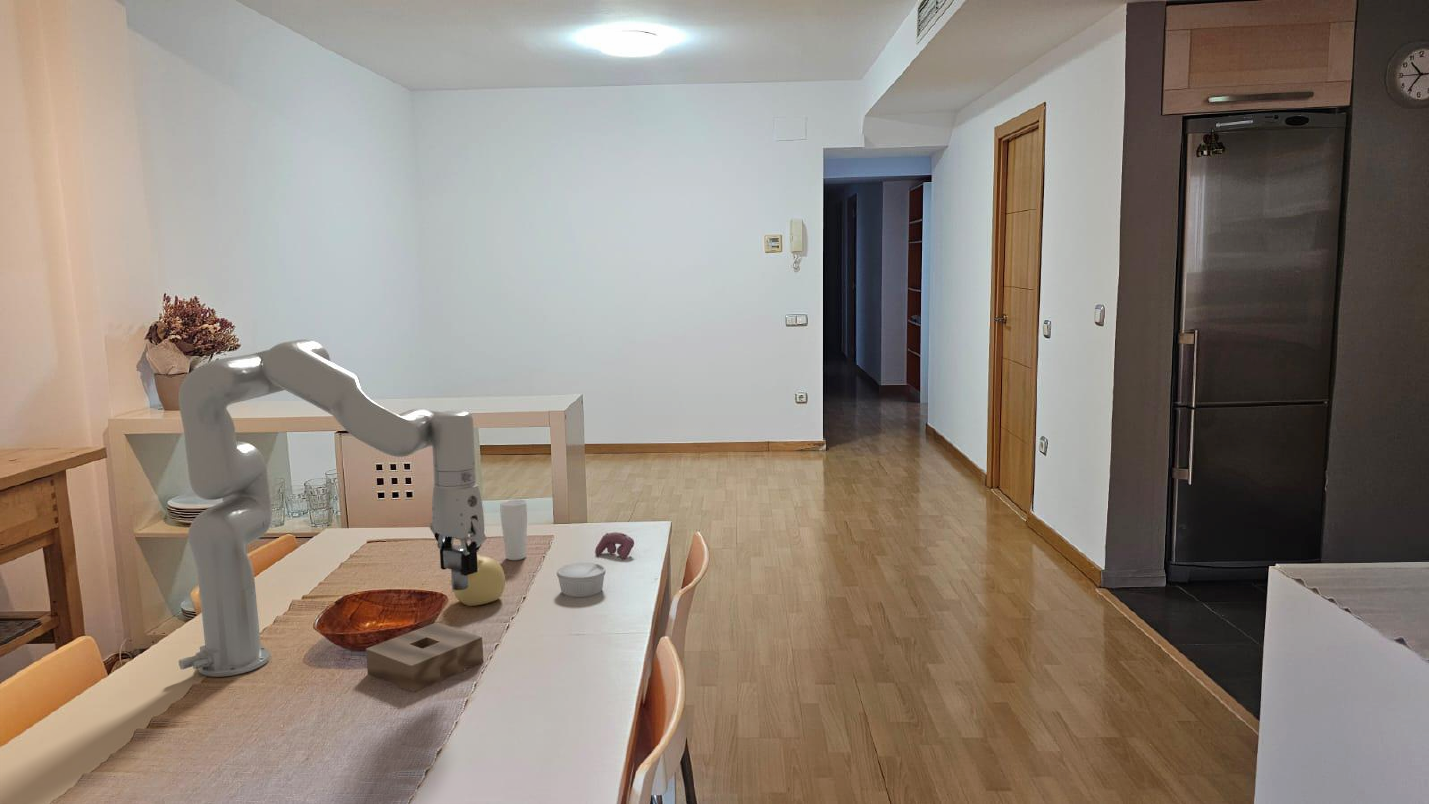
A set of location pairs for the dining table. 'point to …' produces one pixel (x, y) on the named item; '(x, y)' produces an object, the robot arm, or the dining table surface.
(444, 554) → the steel pin
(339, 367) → the robot arm
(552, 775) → the dining table surface
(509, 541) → the drinking glass
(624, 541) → the dark red animal figurine
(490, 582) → the sculpture
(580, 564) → the ramekin
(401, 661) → the walnut block
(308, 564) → the dining table surface
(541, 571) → the dining table surface
